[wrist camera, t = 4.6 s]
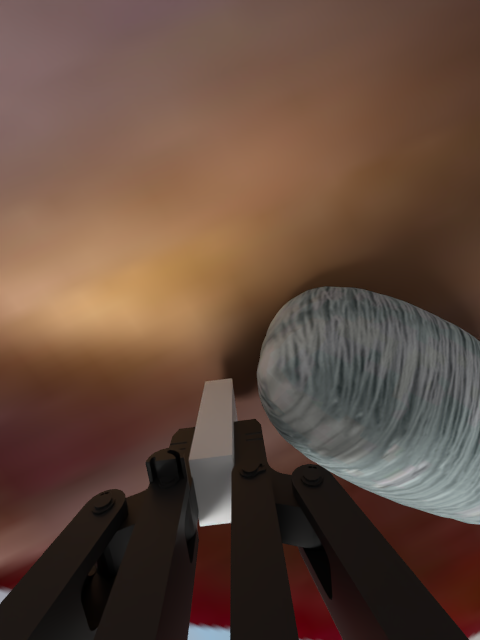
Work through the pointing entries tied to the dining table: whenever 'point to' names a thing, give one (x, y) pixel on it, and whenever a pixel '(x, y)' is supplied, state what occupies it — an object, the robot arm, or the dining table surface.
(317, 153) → the dining table surface
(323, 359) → the streaked grey egg
